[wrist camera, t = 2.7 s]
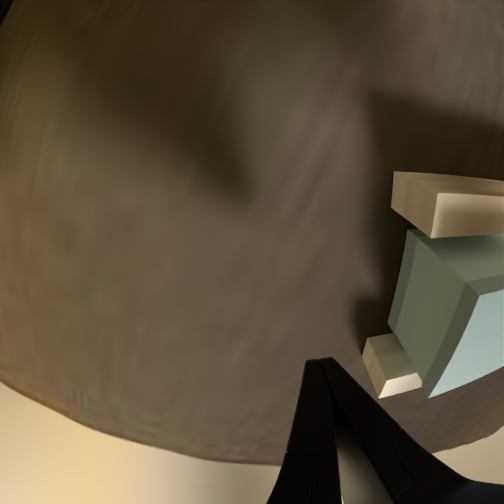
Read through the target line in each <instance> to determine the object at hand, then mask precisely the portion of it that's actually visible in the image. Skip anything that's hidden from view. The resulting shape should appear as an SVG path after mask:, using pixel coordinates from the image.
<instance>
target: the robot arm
mask: <svg viewBox="0 0 504 504" xmlns="http://www.w3.org/2000/svg"><path fill="white" fill-rule="evenodd" d="M341 494H342V498H343V502H344V504H504V485H502V484H494V483H486V482H479V481H474V480H471V479H468V478H465V477H463V476H461V475H460V474H458V473H457V472H455V471H454V470H453V469H451V468H450V467H448V466H447V465H445V464H444V463H443V462H441V461H440V460H438V459H437V458H436V457H435V456H433V455H432V454H431V453H430V452H428V451H427V450H426V449H425V448H423V447H422V446H421V445H420V444H419V443H418V442H416V441H415V440H414V439H413V438H412V437H411V436H410V435H409V434H408V433H407V432H406V431H405V430H404V429H403V428H402V429H401V426H400V425H399V424H398V423H397V422H396V421H395V420H394V419H393V418H392V417H391V416H390V415H389V414H388V413H387V412H386V411H385V410H384V409H383V408H382V407H381V406H380V405H379V404H378V403H377V402H376V401H375V400H374V399H373V398H372V397H371V396H370V395H369V394H368V393H367V392H366V391H365V390H364V389H363V388H362V387H361V386H360V385H359V384H358V383H357V382H356V381H355V380H354V379H353V378H352V377H351V376H350V375H349V374H348V373H347V371H346V370H345V369H344V368H343V367H342V366H341V365H340V364H339V363H338V362H337V361H336V360H335V359H334V358H332V357H327V358H321V359H311V360H307V361H306V362H305V368H304V373H303V378H302V383H301V388H300V392H299V397H298V402H297V406H296V411H295V415H294V420H293V424H292V428H291V432H290V436H289V440H288V444H287V448H286V453H285V456H284V459H283V463H282V466H281V469H280V473H279V476H278V479H277V481H276V484H275V486H274V488H273V490H272V493H271V495H270V497H269V499H268V501H267V503H266V504H342V500H341Z"/></svg>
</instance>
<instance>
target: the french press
mask: <svg viewBox="0 0 504 504" xmlns="http://www.w3.org/2000/svg"><path fill="white" fill-rule="evenodd" d="M12 1H13V0H0V25H1V23H2V21H3V19H4V17H5V16H6V14H7V12H8V10H9V8H10V5H11V3H12Z"/></svg>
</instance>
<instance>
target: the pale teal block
mask: <svg viewBox="0 0 504 504" xmlns="http://www.w3.org/2000/svg"><path fill="white" fill-rule="evenodd" d="M388 324H389V326H390V328H391V329H392V331H393V333H395V334H396V335H397V337H398V339H399V341H400V342H401V344H402V346H403V348H404V349H405V351H406V353H407V355H408V357H409V359H410V360H411V362H412V364H413V366H414V368H415V370H416V372H417V373H418V375H419V377H420V379H421V381H422V384H421V385H422V387H423V389H424V391H425V393H426V395H427V397H428V398H430V397H433V396H436V395H438V394H441V393H444V392H447V391H449V390H452V389H454V388H457V387H459V386H462V385H464V384H466V383H469V382H471V381H473V380H476V379H478V378H480V377H482V376H484V375H486V374H488V373H491V372H493V371H495V370H497V369H499V368H501V367H503V366H504V234H491V235H474V236H459V237H443V238H430V237H428V236H427V235H426V234H425V233H423V232H422V231H421V230H420V229H408V230H407V236H406V242H405V248H404V253H403V259H402V264H401V269H400V273H399V278H398V283H397V287H396V291H395V295H394V299H393V303H392V307H391V311H390V315H389V319H388Z"/></svg>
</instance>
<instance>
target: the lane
mask: <svg viewBox="0 0 504 504" xmlns="http://www.w3.org/2000/svg"><path fill="white" fill-rule="evenodd" d="M391 208H392V209H393V210H395V211H396V212H397V213H399V214H400V215H401V216H403V217H404V218H405V219H407V220H408V221H409V222H411V223H412V224H413V225H415V226H416V227H417V228H418V229H420V230H421V231H422V232H423V233H425V234H426V235H427V236H428V237H430V238H443V237H459V236H474V235H491V234H504V181H498V180H491V179H483V178H475V177H466V176H456V175H445V174H432V173H417V172H398V171H394V177H393V190H392V201H391ZM362 358H363V360H364V363H365V365H366V368H367V370H368V373H369V375H370V378H371V380H372V383H373V385H374V388H375V390H376V393H377V396H378V398H382V397H386V396H390V395H394V394H398V393H402V392H405V391H409V390H412V389H416V388H419V387H422V385H421V384H422V381H421V379H420V377H419V375H418V373H417V372H416V370H415V368H414V366H413V364H412V362H411V360H410V359H409V357H408V355H407V353H406V351H405V349H404V348H403V346H402V344H401V342H400V341H399V339H398V337H397V335H396V334H395V333H391V334H385V335H380V336H374V337H368V338H367V340H366V344H365V348H364V351H363V355H362Z"/></svg>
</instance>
